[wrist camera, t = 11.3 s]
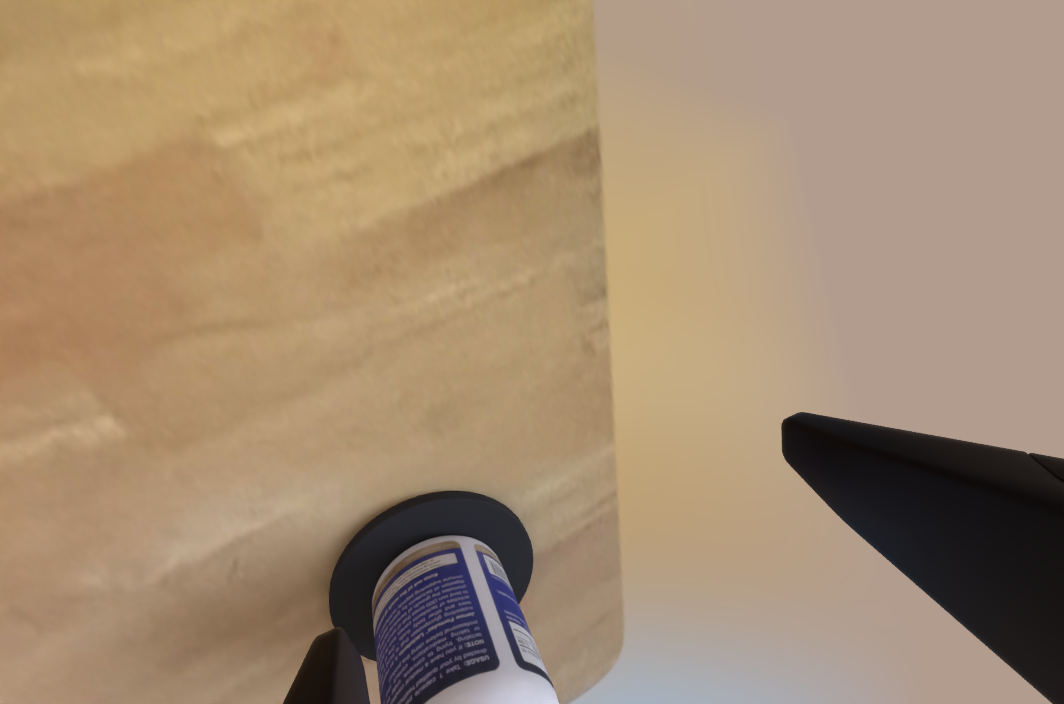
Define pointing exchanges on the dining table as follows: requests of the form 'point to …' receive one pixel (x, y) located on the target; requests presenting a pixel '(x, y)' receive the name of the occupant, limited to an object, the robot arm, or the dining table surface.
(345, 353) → the dining table surface
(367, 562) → the coaster
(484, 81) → the dining table surface
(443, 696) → the pill bottle
